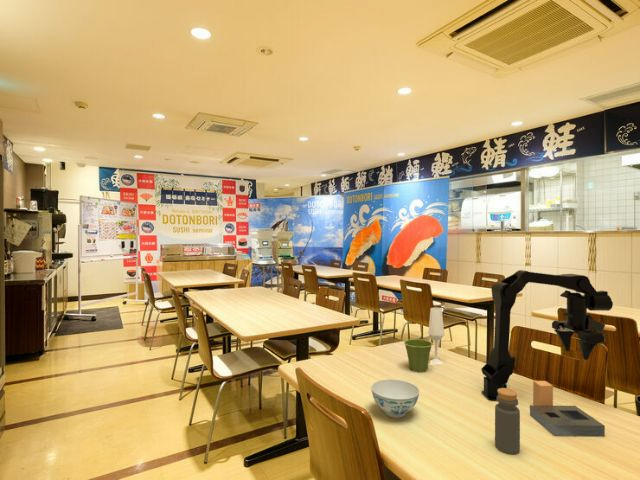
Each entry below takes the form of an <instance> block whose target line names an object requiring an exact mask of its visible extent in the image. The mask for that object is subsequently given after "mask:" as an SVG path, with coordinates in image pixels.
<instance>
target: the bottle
mask: <svg viewBox="0 0 640 480" xmlns="http://www.w3.org/2000/svg"><path fill="white" fill-rule="evenodd" d="M497 391H498V396H497V400H496V401H497V403H496V404H495V406H494V446H495V447H496V448H495V449H497V450H498V451H500V452H501V453H504V454H508V455H516V454H517V455H518V454H519V453H520V450H521V449H520V448H521V413H520V412H521V411H520V409H519V408H518V407H517V406H518V405H519V399H518V392H517V391H516V390H514V389H511V388H508V387H507V388H499V389H498V390H497Z"/></svg>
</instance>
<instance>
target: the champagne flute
mask: <svg viewBox="0 0 640 480" xmlns="http://www.w3.org/2000/svg"><path fill="white" fill-rule="evenodd" d="M443 318H444V317H443V308H441V307H430V312H429V321H428V332H427V333H428V336H429V337H430V338H431V340H432V341H434V358H433V359H431V360H430V359H429V361H430V362H431V363H434V364H442V363H444V362H443V361H442V360H440V359H439V358H438V354H439V353H438V348H439V347H438V344H439V343H438V342H439V341H440V340H441V339H443V337H444V335H445V330H444V329H445V327H444V319H443Z"/></svg>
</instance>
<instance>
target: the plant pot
mask: <svg viewBox="0 0 640 480" xmlns="http://www.w3.org/2000/svg"><path fill="white" fill-rule="evenodd" d="M403 344H404V346H405V350H406V355H407V361H408V367H409V370H411V369H412V370H411V371H413V370H414V371H413V372H416V371H417V372H420V373H424V372H426V370H427V371H428V368H429V361H430V354H431V350H432V347H433V345H434V343H433V342H432V341H430V340H427V339H421V338H410V339H406V340H404V341H403ZM423 371H424V372H423Z"/></svg>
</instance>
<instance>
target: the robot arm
mask: <svg viewBox="0 0 640 480" xmlns="http://www.w3.org/2000/svg"><path fill="white" fill-rule="evenodd" d="M529 283H532V284H538V285H540V284H541V285H548V286H556V287H559V288H563V289H566V290H564V292H562V293H561V294H560V295H559V297H561V298H562V297H563V298H565V299H566V311H564V312H563V315H564V316H566V320H553V322H552V323H551V329H553V330H554V332H555V333H556V335H557V337H558V338H559V340H560V342H561V344H562V346H563V348H564V350H565V352H570V351H571V350H570V349H571V343H572V336H573V335H574V334H576V335H578V338H579V339H577V341H578V345H579V347H580V352H581V355H582V358H583V360H584V361H588V360H589V358H590V357H591V353H592V351H593V349H594V348H595V346H597V345H598V344H600V345H601V344H602V343H606V336H605V334H604V333H603V332H604V330H605V328H606V327H605V326H606V323H603V322H600V321H597V320H594V319H593V317H592V316H591V315H590V314H588V311H591V312H592V311H593V312H594V311H597V312H598V311H599V312H600V311H601V312H602V311H603V312H604V311H607V312H608V311H610V310H612V308H613V307H614V306H613V305H614V303H613V301H612V298H611V296H610V295H609V292H608V291H606V290H596V289H595V288H594V286H593V285H592V284H591V280H590V278H589V277H588V276H586V275H585V274H584V275H583V274H576V273H562V274H550V273H542V272H534V271H529V270H523V269H520V270H517V271H515V272H514V273H513V274H511V275H509V276H507V277H505V278H503V279H502V280H501V281H498V282H496V283H494V284H493V285H492V286H491V297H492V301H493V304H494V306H495V307H494V308H495V311H494V314H495V317H494V335H493V337H494V338H493V348H492V349H491V352H490V353H489V357H488V360H487V362H486V363H485V364H484V365H483V366H482V367H481V369H480V370H481V373H482V375H483V376H484V377H483V390H481V394H482V395H483V396H484V397H485V398H486V399H488V400H489V401H497V396H498V391H497V390H498V389H499V388H508V382H509V379H510V376H512V375H513V373H514V371H515V370H516V366H515V363H516V357H515V356H514V355H512V354H511V352H510V329H511V313H512V312H511V310H512V308H513V306H514V305H515V303H516V299H517V296H518V294H519V293H520V292H521V291H523V290H524V288H525V287H526V285H527V284H529ZM570 290H571V291H574V292H571V291H570Z"/></svg>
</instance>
